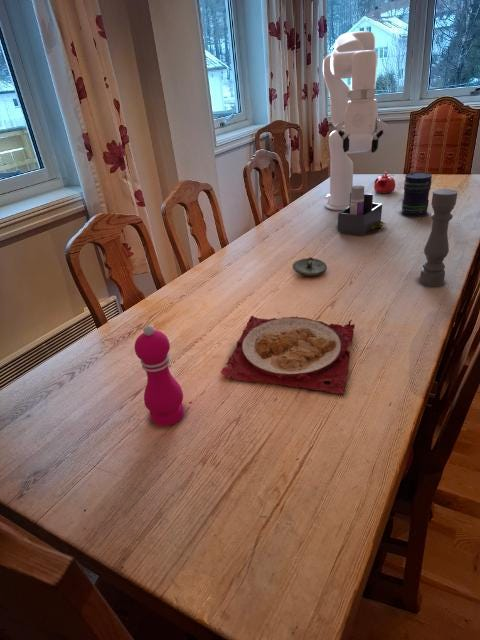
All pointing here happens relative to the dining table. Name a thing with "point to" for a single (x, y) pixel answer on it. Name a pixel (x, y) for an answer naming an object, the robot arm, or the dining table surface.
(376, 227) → the turntable
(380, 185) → the pomegranate
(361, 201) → the container
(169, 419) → the pepper mill
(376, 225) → the lily flower
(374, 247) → the dining table surface
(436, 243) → the candle holder
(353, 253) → the dining table surface
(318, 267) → the lid
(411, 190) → the storage jar
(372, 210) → the bin
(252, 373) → the plate with food
